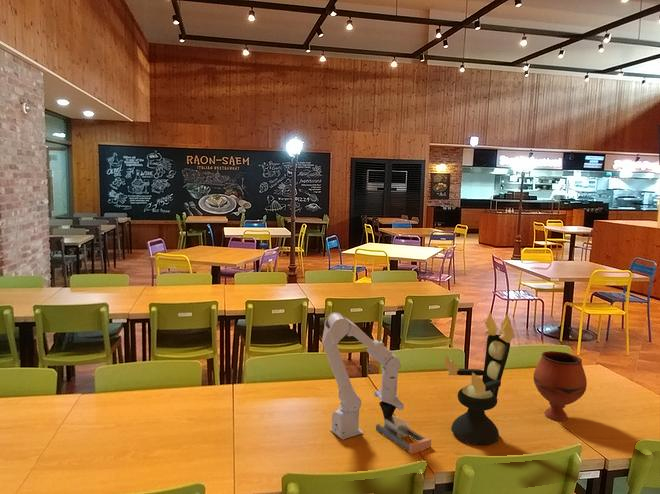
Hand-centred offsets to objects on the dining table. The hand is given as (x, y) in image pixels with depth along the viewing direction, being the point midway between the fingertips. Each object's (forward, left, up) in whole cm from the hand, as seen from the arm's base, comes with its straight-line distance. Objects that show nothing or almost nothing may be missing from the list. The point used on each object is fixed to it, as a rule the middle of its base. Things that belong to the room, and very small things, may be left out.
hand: (387, 421), depth 190 cm
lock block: (0, -5, -3) cm, 6 cm away
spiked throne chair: (+27, -20, -3) cm, 34 cm away
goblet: (+66, -26, -3) cm, 71 cm away
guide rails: (0, -8, -3) cm, 8 cm away
